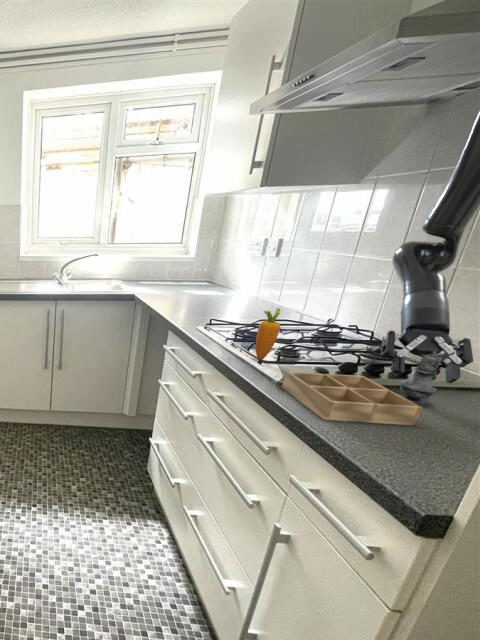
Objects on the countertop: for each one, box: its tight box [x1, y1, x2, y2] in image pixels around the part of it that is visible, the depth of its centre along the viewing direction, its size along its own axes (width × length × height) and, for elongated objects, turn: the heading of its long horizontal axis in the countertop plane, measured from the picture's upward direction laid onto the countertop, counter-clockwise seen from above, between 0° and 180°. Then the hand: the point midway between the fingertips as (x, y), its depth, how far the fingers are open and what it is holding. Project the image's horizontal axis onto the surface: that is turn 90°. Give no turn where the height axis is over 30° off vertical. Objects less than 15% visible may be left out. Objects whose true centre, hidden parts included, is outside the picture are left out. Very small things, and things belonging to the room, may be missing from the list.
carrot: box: [255, 307, 281, 362], centre depth 115 cm, size 5×5×15 cm
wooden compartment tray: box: [281, 371, 424, 426], centre depth 92 cm, size 16×16×4 cm
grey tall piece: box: [399, 351, 442, 407], centre depth 92 cm, size 6×6×12 cm
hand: (425, 378), depth 91 cm, fingers open, 8 cm apart
